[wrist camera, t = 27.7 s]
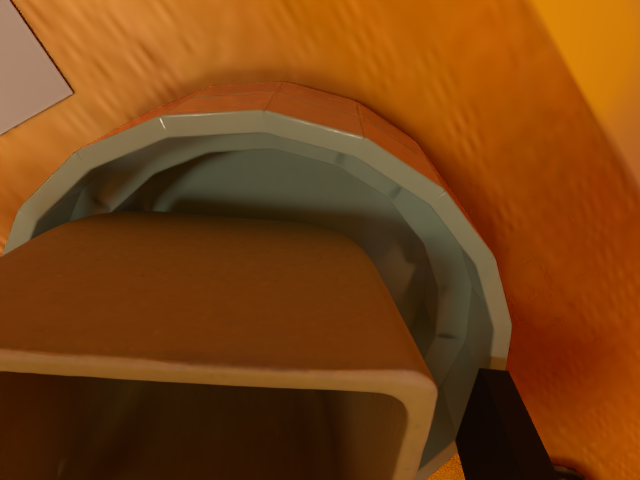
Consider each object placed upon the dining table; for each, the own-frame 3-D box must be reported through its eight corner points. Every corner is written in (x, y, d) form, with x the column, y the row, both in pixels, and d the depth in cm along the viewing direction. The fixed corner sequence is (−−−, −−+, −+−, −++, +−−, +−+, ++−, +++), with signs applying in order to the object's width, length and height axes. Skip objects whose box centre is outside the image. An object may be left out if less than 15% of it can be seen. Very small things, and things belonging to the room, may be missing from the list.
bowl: (532, 299, 17) (600, 400, 13) (263, 450, 22) (245, 565, 17) (293, -27, 13) (270, -48, 8) (11, 247, 17) (-104, 332, 13)
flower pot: (378, 175, 15) (452, 386, 7) (345, 375, 19) (366, 654, 11) (99, 149, 14) (-180, 343, 6) (128, 360, 18) (-19, 640, 10)
